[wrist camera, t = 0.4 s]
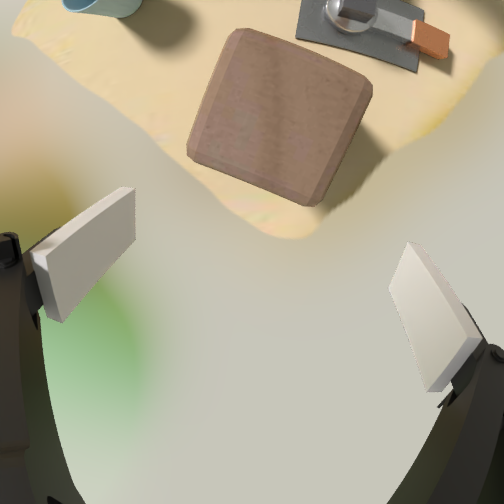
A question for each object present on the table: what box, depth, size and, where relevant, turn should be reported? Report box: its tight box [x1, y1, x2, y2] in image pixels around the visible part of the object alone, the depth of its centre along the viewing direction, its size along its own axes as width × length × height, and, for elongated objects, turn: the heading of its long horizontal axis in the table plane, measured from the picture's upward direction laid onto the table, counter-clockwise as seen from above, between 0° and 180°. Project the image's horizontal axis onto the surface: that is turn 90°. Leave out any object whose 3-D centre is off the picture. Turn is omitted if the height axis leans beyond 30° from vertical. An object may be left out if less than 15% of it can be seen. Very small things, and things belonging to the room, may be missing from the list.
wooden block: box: [186, 28, 373, 207], centre depth 26 cm, size 10×10×20 cm
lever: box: [295, 0, 450, 72], centre depth 24 cm, size 10×19×7 cm, turn 81°
